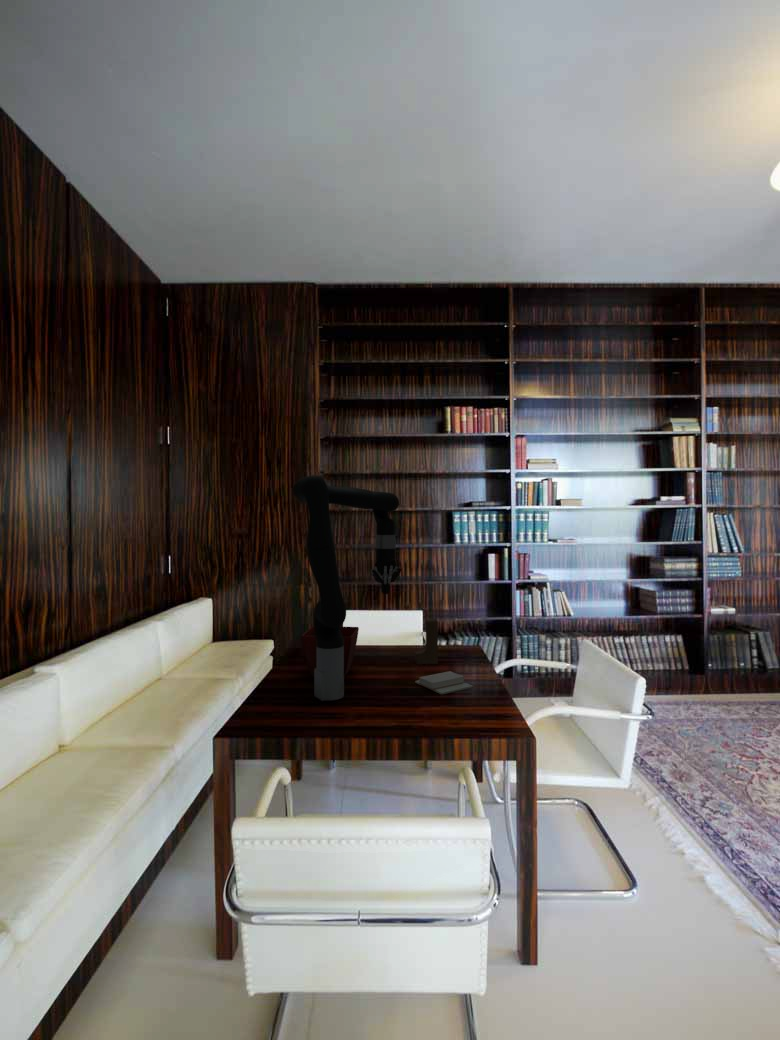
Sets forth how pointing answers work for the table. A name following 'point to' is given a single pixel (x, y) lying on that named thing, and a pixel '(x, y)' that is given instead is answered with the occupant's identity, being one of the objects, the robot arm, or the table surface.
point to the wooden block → (429, 645)
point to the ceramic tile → (441, 680)
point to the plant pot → (311, 648)
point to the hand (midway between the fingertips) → (385, 594)
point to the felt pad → (450, 688)
